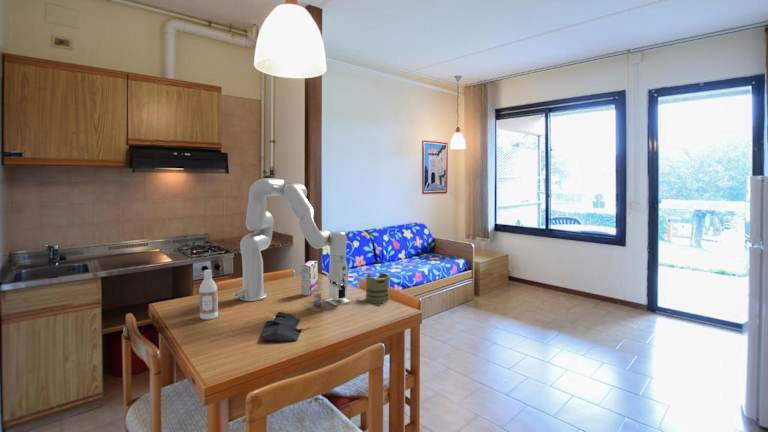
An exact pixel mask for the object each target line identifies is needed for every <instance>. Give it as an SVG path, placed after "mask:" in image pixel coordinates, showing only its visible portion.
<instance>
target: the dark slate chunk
mask: <svg viewBox="0 0 768 432" xmlns="http://www.w3.org/2000/svg"><path fill="white" fill-rule="evenodd" d="M300 322H301V319H300V318H297V317H295V315H293V314H291V313H285V312H283V311H278V312H277V313H276V315H275V317H274V318H273V320H267V321H266V322H265V324H264V328H263V330H262V334H261V335H260V337H261V339H262V340H263V341H276V342H277V341H278V342H285V343H286V342H288V343H290V342H291V343H292V342H297V341H298V340H299V337H300V336H301V333H302V330H303V328H299V329H298V328H297V327H298V326H299V324H300Z"/></svg>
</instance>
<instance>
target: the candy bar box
mask: <svg viewBox="0 0 768 432" xmlns="http://www.w3.org/2000/svg"><path fill="white" fill-rule="evenodd" d="M318 265H319V263H318V260H308V261H307V262H305V263H303V264H302V265H301V266H300V267H301V270H300V271H301V296H312V295H313V294H316V292H319V272H318V271H319V270H318V269H319V268H318Z"/></svg>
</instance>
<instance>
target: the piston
mask: <svg viewBox="0 0 768 432" xmlns="http://www.w3.org/2000/svg"><path fill="white" fill-rule="evenodd" d="M365 288H366V289H365V301H366V300H367V302H368V303H371V302H372V303H371V304H383V302H385V303H387V302H389V301H390V289H389V288H390V274H388V273H385V272H380V273H379V276H378V277H372V276H371V274H370V273H367V274H366V275H365ZM388 300H389V301H388Z"/></svg>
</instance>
